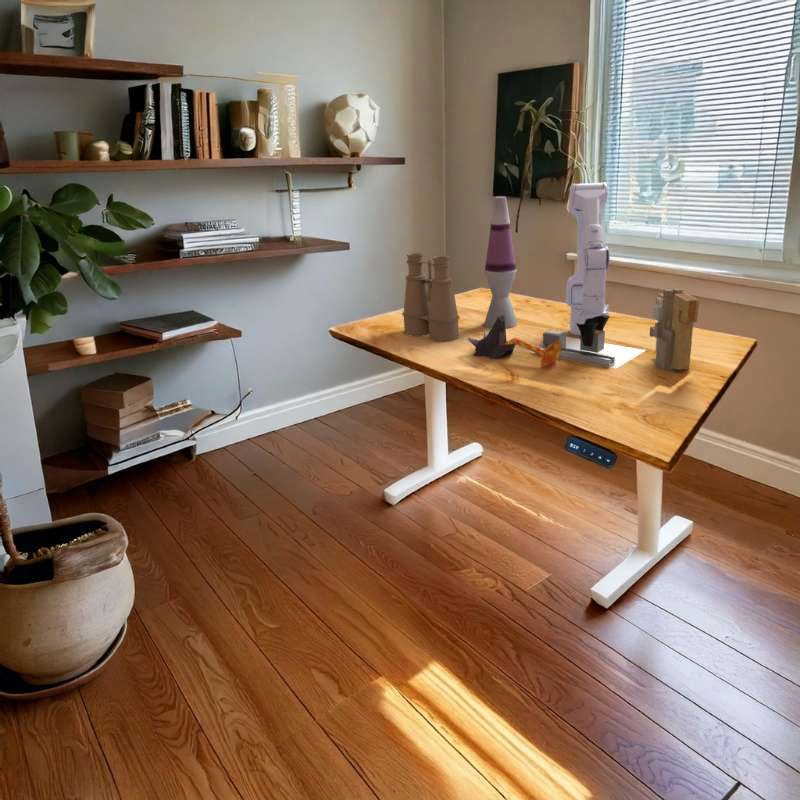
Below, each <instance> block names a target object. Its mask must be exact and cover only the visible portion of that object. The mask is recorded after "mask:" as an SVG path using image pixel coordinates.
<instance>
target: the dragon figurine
mask: <svg viewBox="0 0 800 800" xmlns="http://www.w3.org/2000/svg"><path fill="white" fill-rule="evenodd" d="M506 329H507V328H506V327H505V317H504V315H502V316H499V317H498V318H497V320H496V322H495V323H494V325H493V326H492V328H490V330H489V332H488V333H487V331H486V330H485V331H484V332H483V338H481V339H480V340H478V339H476V338H475V339H474V338H471V337H467V338H466V340H467V341H469V343H471V344H472V345H473V346H474V347H475V348H474V351H475V353H474V356H473V357H485V358H488V359H491V360H497V359H499V358H500V357H502V356H504V355H505V354H506V353H507V354H508V353H513V352H514V350H515V347H516V346H518V347H520V348H523V349H526V350H528V351H529V352H530V351H532V352H535V353H534V354H536V353H537V354H538V356H539V355H540V356H541V358H540V364H541V365H540V366H541V369H543V368H544V367H546V366H549V365H551V364H556V363H557V361H558V359H559V358H558V357H559V355H560V354H561V352H562V351H561V343H560V340H558V341H556V342H553V343H551V344H549V345H548V347H547V348H546V349H543V348H540V347H538V346H539V345H535V344H532V343H531V342H528V341H526V340H524V339H521V338H518V337H516V336H515V337H513V338H511V339H509V340H507V332H506ZM537 354H536V355H537Z"/></svg>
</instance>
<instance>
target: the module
mask: <svg viewBox="0 0 800 800" xmlns="http://www.w3.org/2000/svg"><path fill="white" fill-rule="evenodd" d="M605 334H606V330H603V331H602V330H595V332H594V336H593V342H592V345H591V346H590V347H589V346H584V345H583V342H582V337H581V336H580V339H581V341H580V350H584V351H590V352H596V353H598V352H599V351H601V350H603V349H604V343H605V338H606V337H605V336H606V335H605Z"/></svg>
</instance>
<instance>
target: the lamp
mask: <svg viewBox="0 0 800 800" xmlns="http://www.w3.org/2000/svg"><path fill="white" fill-rule="evenodd" d="M493 200H494V201H493V204H492V205H493V206H492V213H491V219H490V230H489V237H488V244H487V250H486V258H485V266H484V270H483V273H484V275H485V278H486V281H487V284H488V287H489V290H490V292H491V293H490V294H491V296H492V297H491V300H490V304H489V306H488V310H487V313H486V317H485V319H484V322H483V325H484V327H487V328H490V329H491V328H492V326H493V325H494V323H495V322H496V320H497V318H498V317H499V316H502V315H504V317H505V327H506V329H510V328H509V327H511V328H513V326H514V327H516V326H517V325H518V321H517V318H516V314H515V312H514V308H513V305H512V303H511V300H510V296H509V295H510V293H511V289H512V286H513V282H514V280H515V278H516V275H517V271H518V270H517V265H516V259H515V252H514V251H515V250H514V246H513V237H512V231H511V220H510V215H509V214H510V213H509V207H508V201H507V197H506V196H495V197H494V199H493ZM515 325H516V326H515Z"/></svg>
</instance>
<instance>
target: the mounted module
mask: <svg viewBox="0 0 800 800" xmlns="http://www.w3.org/2000/svg"><path fill="white" fill-rule="evenodd" d="M566 337H567V331H562V330H561V331H560V330H554V329H549V330H547V331H544V332H543V333H542V344H547V345H549V344H551V343H553V342H556V341H558V340H560V343H561V347H563V348H566Z"/></svg>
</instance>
